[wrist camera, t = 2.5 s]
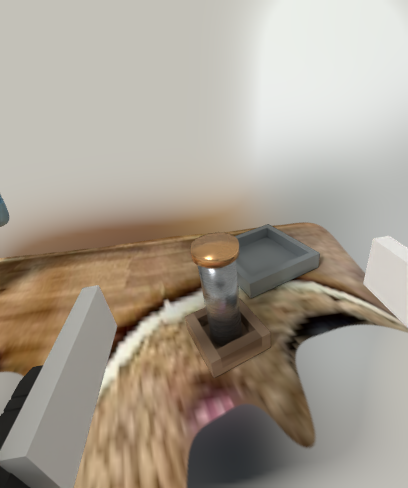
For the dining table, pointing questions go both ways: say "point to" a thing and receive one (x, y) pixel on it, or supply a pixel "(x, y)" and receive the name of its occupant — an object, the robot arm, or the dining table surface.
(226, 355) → the socket block
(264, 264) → the tray
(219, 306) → the pin
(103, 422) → the dining table surface
